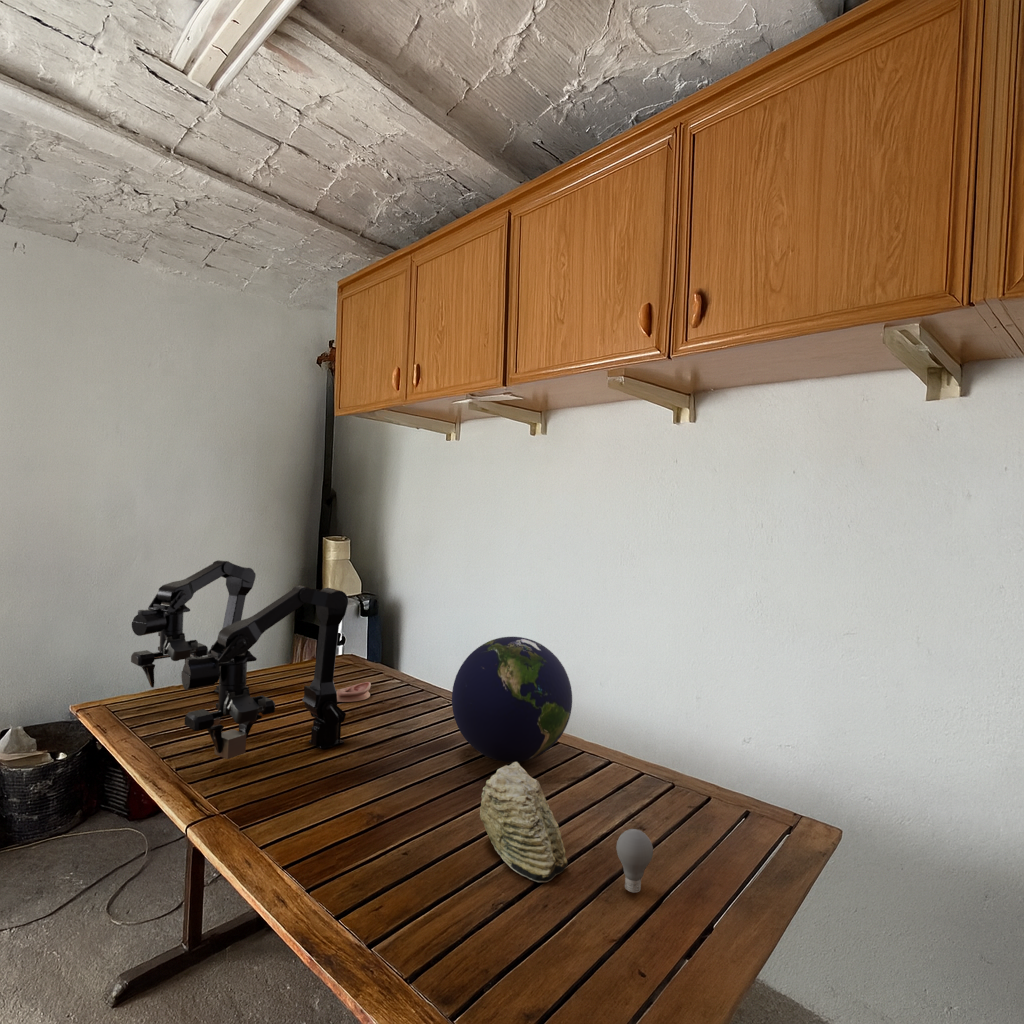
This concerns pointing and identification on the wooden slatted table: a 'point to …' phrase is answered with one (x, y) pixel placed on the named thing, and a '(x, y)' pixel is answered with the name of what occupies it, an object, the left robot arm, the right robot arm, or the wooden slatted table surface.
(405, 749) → the wooden slatted table surface
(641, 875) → the light bulb
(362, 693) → the anatomical model
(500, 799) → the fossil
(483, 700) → the globe
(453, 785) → the wooden slatted table surface
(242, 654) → the right robot arm
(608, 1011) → the wooden slatted table surface
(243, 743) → the block
